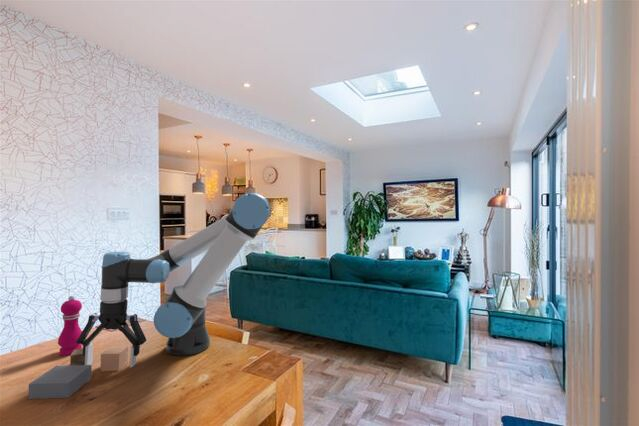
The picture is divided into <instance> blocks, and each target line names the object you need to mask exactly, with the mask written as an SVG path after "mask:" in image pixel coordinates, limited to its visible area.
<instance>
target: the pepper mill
mask: <svg viewBox="0 0 639 426" xmlns="http://www.w3.org/2000/svg"><path fill="white" fill-rule="evenodd" d="M82 308H83V303H82V302H81V301H80V300H78V299H76V297H75V296H74V295H69V296H68V300H66V301H64V302H63V303H62V304H61V306H60V312H61V313H62V318H61V319H62V320H63V327H62V330H61V333H60V334H59V336H58V338H57V344H58V346H60V347H59V355H60V356H70V355H71V354H72V352H73V351H74V350H75V349H82V348H83V345H82V344H77V343H76V341H77V340H78V338H79V336H80V335H81V333H82V331H83V330H82V329H81V327H80V325H79V324H80V323H79V318H80V317H81V312H80V311H81V310H82Z"/></svg>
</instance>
